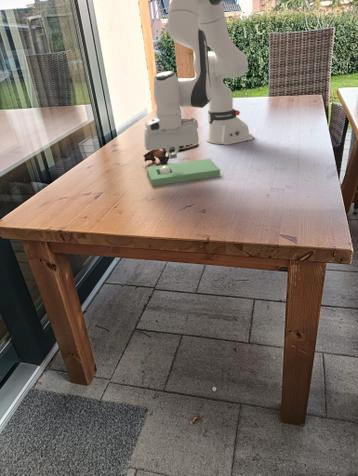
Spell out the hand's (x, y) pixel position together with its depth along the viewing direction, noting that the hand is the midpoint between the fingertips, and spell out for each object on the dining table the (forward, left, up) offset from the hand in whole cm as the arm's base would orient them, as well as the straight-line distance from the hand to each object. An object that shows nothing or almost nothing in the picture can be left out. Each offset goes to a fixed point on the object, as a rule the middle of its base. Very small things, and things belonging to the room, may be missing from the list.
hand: (173, 158), depth 143 cm
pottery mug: (+4, -16, -7) cm, 18 cm away
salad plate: (-9, -39, -8) cm, 40 cm away
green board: (-3, 0, -7) cm, 8 cm away
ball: (+4, +1, -5) cm, 6 cm away
